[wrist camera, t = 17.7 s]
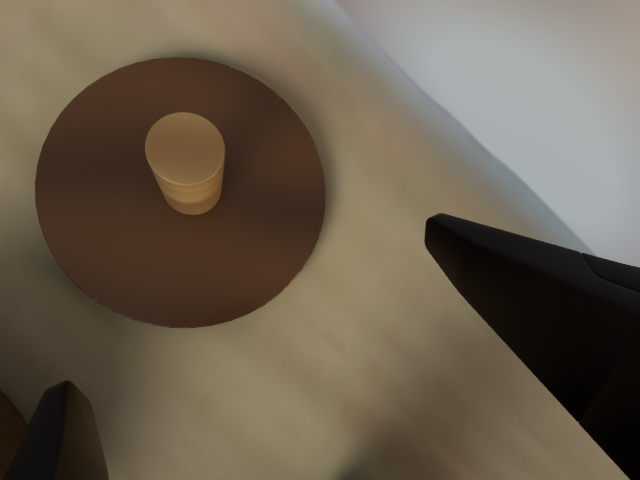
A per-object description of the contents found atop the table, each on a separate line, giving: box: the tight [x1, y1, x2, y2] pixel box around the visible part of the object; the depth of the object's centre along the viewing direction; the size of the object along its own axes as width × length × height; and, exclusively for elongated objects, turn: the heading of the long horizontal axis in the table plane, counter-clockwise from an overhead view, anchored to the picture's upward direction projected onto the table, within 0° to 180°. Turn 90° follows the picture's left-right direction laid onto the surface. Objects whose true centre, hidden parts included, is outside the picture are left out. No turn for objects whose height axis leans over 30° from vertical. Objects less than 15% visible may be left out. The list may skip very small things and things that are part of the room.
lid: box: [35, 58, 325, 328], centre depth 20 cm, size 15×15×7 cm
